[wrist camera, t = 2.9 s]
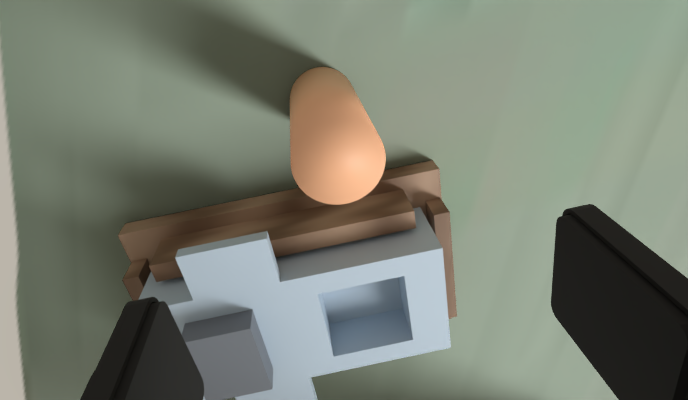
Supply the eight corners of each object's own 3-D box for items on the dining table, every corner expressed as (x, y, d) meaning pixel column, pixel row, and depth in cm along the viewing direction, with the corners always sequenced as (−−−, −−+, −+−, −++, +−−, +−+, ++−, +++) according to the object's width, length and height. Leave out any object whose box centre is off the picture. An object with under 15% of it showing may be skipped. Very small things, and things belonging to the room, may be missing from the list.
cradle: (432, 160, 30) (454, 189, 26) (445, 305, 36) (464, 347, 32) (125, 223, 30) (100, 262, 26) (189, 359, 36) (177, 408, 32)
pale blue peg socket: (415, 166, 29) (448, 217, 23) (432, 327, 35) (461, 398, 30) (137, 224, 28) (99, 290, 23) (207, 375, 35) (191, 456, 29)
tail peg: (348, 60, 27) (379, 107, 18) (359, 124, 29) (390, 194, 20) (283, 74, 27) (280, 127, 18) (297, 136, 29) (302, 212, 20)
